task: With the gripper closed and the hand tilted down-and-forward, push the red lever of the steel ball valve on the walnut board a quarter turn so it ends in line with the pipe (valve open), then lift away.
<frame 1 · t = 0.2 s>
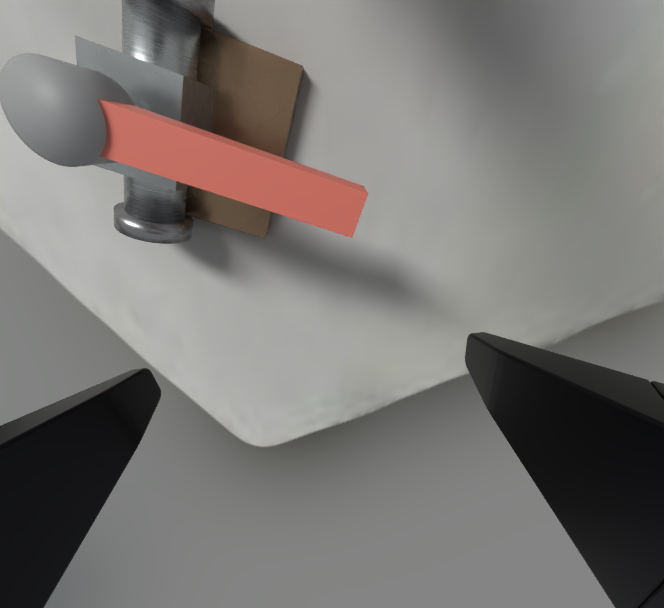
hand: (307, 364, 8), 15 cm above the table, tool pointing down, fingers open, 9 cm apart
valve: (179, 125, 18), on the table
lever: (207, 160, 12), point 8 cm above the table, hinge at 0.0°
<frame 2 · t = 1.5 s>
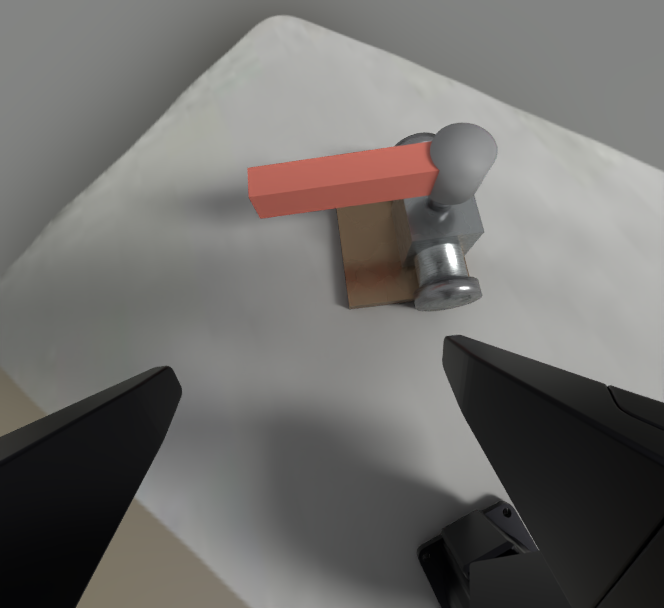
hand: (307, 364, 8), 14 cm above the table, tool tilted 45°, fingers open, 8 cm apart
valve: (422, 239, 24), on the table
lever: (368, 178, 16), point 8 cm above the table, hinge at 0.0°
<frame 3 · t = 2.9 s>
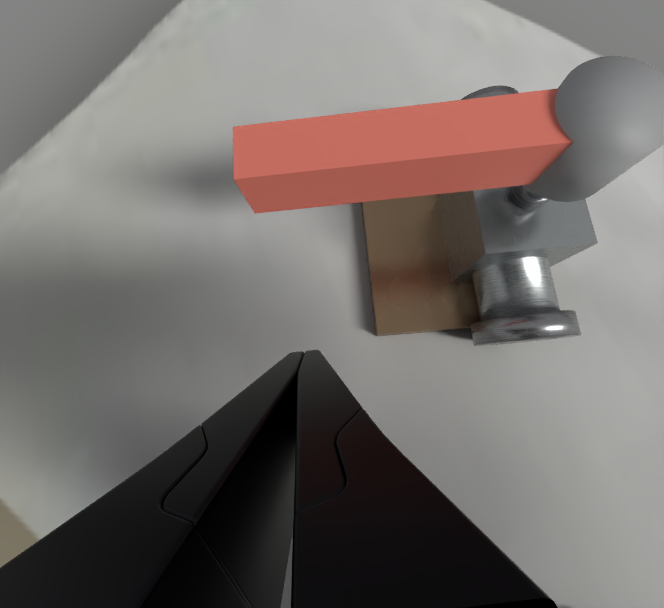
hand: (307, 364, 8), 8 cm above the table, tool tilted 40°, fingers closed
valve: (478, 241, 17), on the table
lever: (436, 152, 10), point 8 cm above the table, hinge at 0.0°
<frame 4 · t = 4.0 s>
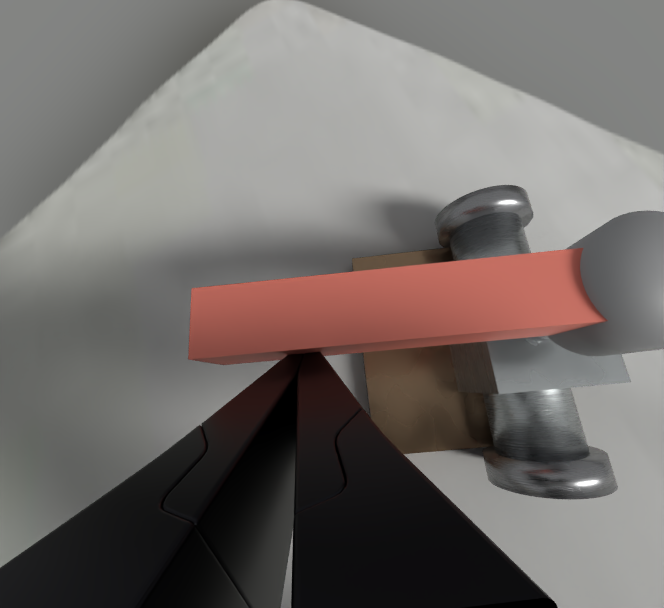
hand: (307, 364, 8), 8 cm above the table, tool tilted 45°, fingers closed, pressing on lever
valve: (485, 338, 16), on the table
lever: (436, 307, 8), point 8 cm above the table, hinge at 0.6°, touching gripper
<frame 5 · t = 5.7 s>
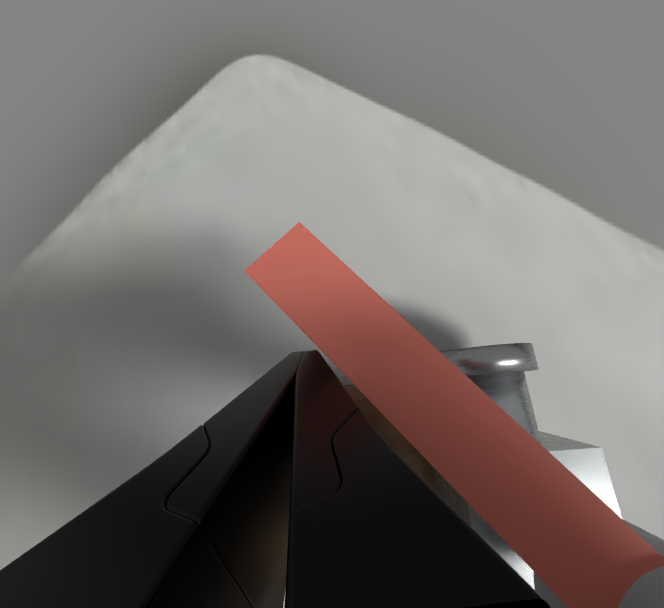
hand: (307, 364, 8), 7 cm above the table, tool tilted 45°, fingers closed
valve: (481, 487, 14), on the table
lever: (463, 440, 7), point 8 cm above the table, hinge at 50.6°, touching gripper
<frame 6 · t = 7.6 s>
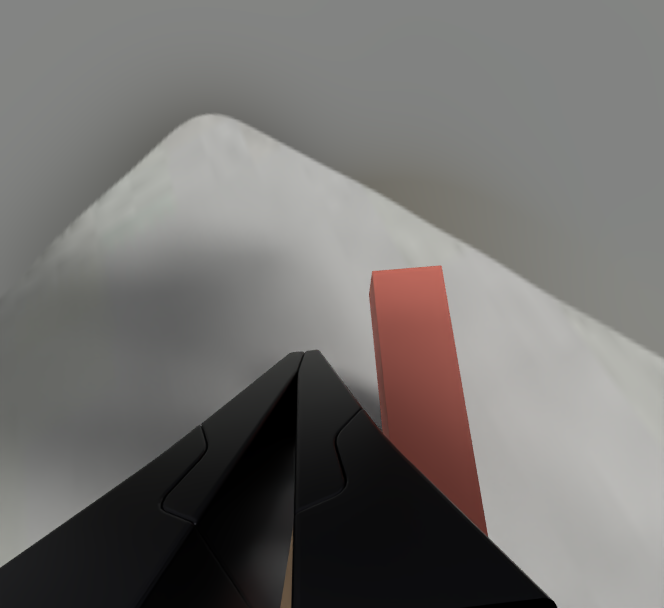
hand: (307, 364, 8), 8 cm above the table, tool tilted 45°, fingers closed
valve: (404, 568, 14), on the table
lever: (433, 530, 7), point 8 cm above the table, hinge at 91.7°
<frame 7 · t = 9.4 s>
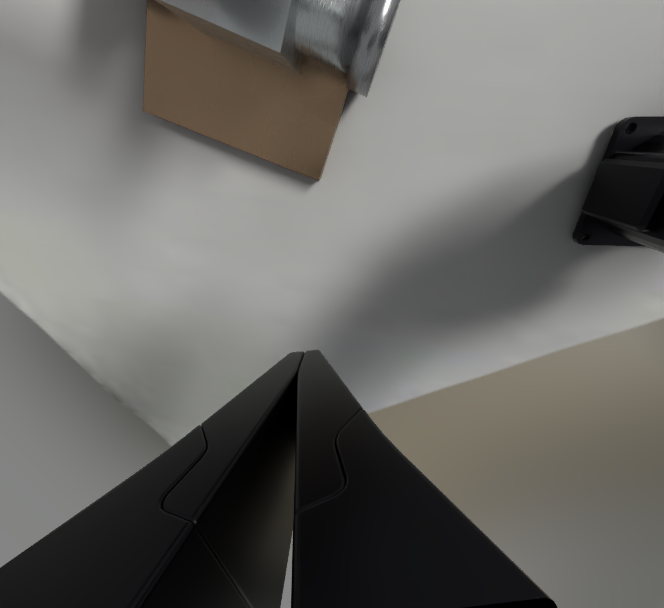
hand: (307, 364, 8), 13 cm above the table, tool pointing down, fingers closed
valve: (265, 0, 14), on the table
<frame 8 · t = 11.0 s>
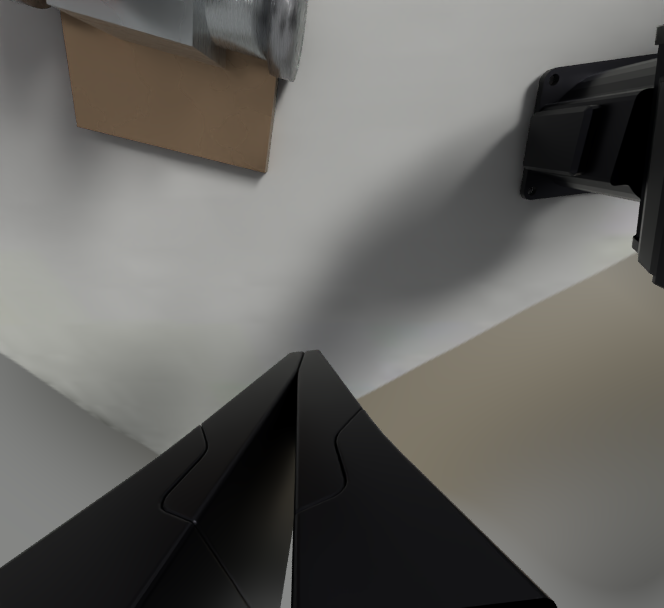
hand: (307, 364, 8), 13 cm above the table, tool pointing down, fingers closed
valve: (179, 0, 14), on the table
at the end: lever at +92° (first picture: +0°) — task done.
